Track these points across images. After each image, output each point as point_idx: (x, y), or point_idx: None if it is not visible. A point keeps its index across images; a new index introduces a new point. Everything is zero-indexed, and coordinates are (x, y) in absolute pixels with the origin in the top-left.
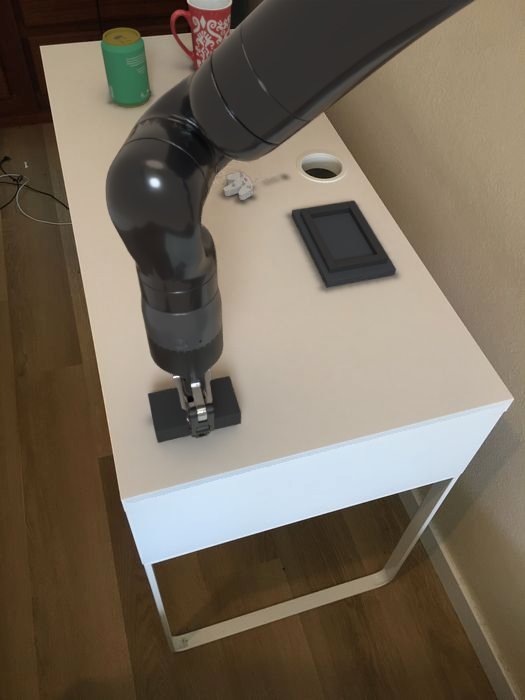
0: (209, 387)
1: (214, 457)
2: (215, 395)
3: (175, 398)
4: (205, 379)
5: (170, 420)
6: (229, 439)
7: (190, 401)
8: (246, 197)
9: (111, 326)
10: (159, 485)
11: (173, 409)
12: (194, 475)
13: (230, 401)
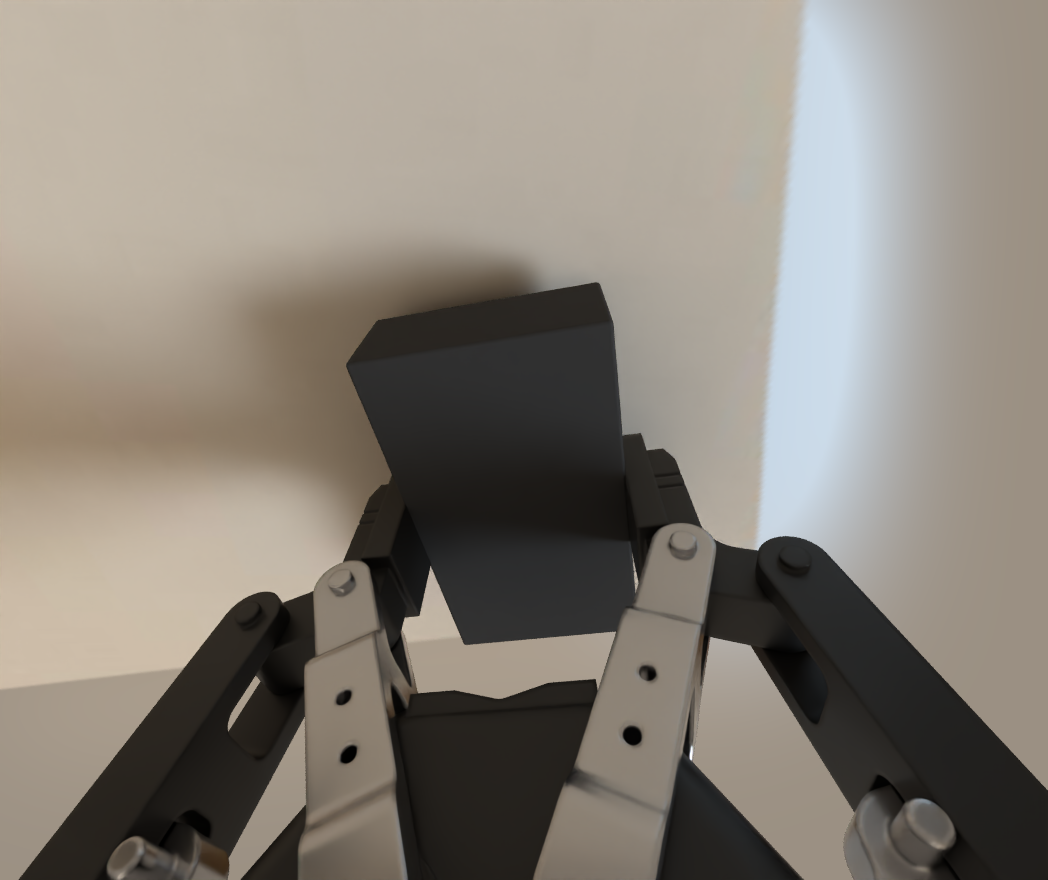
0: (679, 749)
1: (706, 385)
2: (483, 440)
3: (492, 578)
4: (663, 857)
5: (597, 593)
6: (637, 322)
7: (686, 729)
8: None
9: (171, 642)
10: (752, 540)
11: (547, 585)
12: (756, 452)
13: (528, 373)
